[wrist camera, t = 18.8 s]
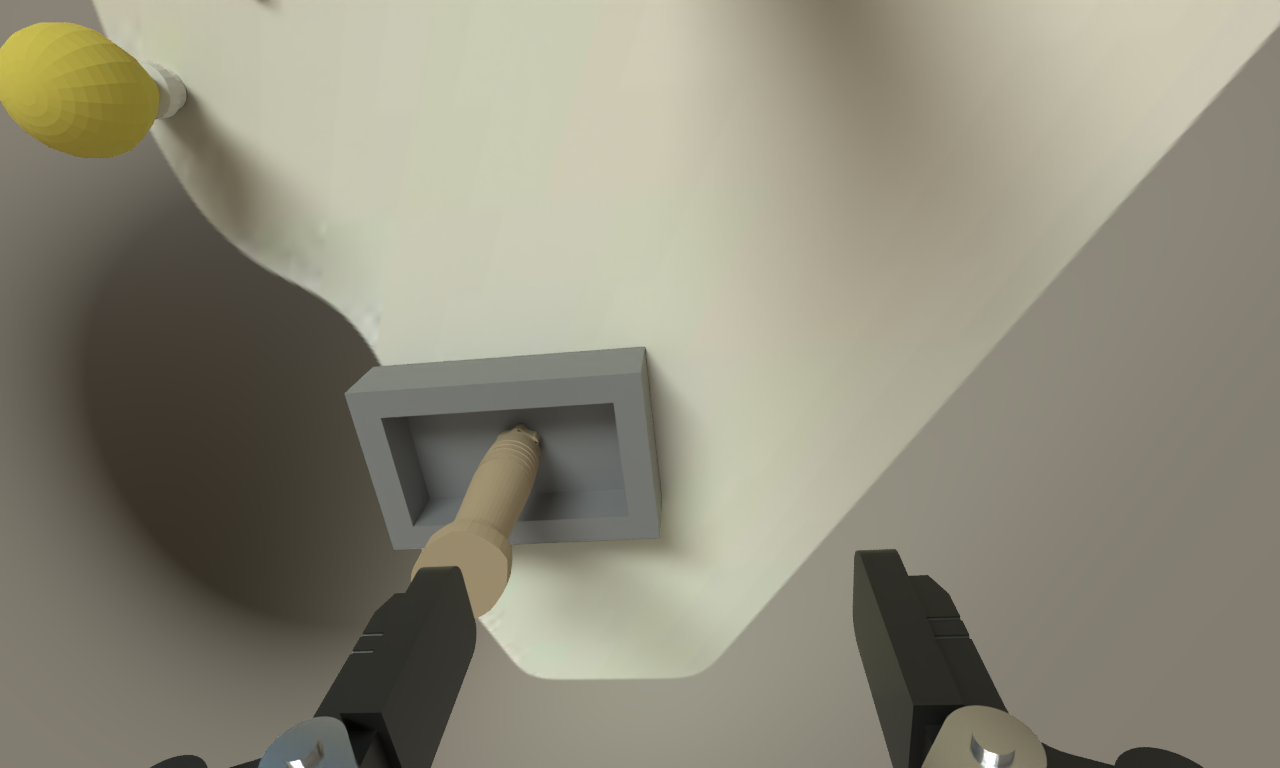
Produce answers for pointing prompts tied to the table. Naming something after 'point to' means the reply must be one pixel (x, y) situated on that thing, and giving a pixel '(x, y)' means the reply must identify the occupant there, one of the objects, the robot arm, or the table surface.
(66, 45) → the light bulb
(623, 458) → the gray rectangular tray
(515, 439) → the handle
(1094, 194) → the table surface
